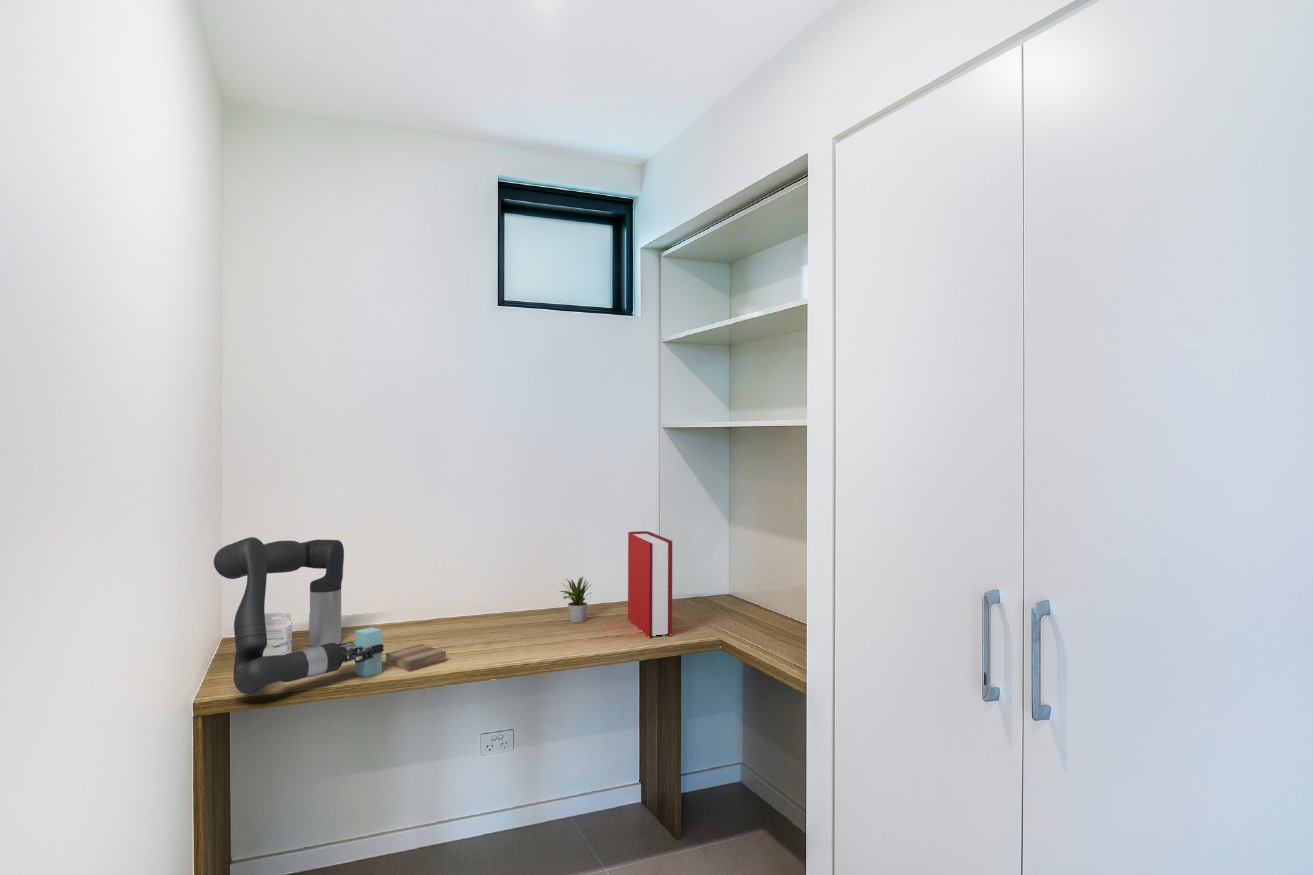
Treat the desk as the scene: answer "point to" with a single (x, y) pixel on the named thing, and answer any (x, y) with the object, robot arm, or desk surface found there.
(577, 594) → the house plant
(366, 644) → the tall teal brick
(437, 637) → the desk surface
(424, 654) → the walnut block
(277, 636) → the ink cartridge box
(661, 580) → the book
